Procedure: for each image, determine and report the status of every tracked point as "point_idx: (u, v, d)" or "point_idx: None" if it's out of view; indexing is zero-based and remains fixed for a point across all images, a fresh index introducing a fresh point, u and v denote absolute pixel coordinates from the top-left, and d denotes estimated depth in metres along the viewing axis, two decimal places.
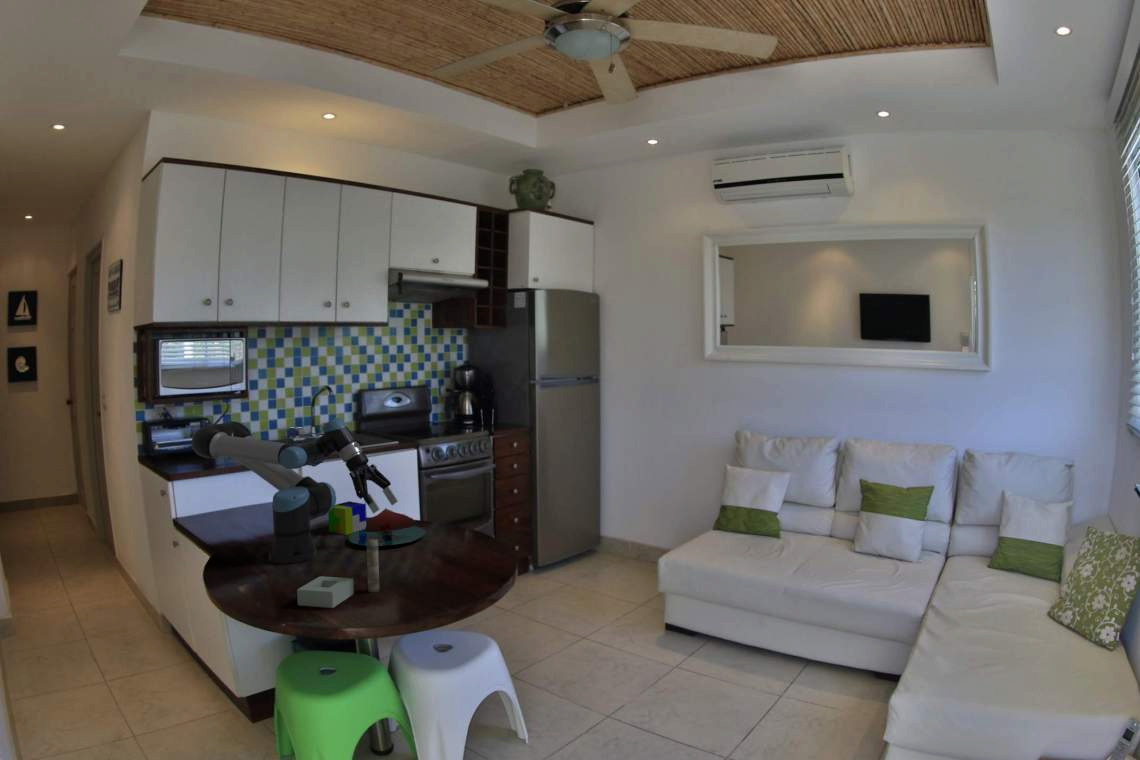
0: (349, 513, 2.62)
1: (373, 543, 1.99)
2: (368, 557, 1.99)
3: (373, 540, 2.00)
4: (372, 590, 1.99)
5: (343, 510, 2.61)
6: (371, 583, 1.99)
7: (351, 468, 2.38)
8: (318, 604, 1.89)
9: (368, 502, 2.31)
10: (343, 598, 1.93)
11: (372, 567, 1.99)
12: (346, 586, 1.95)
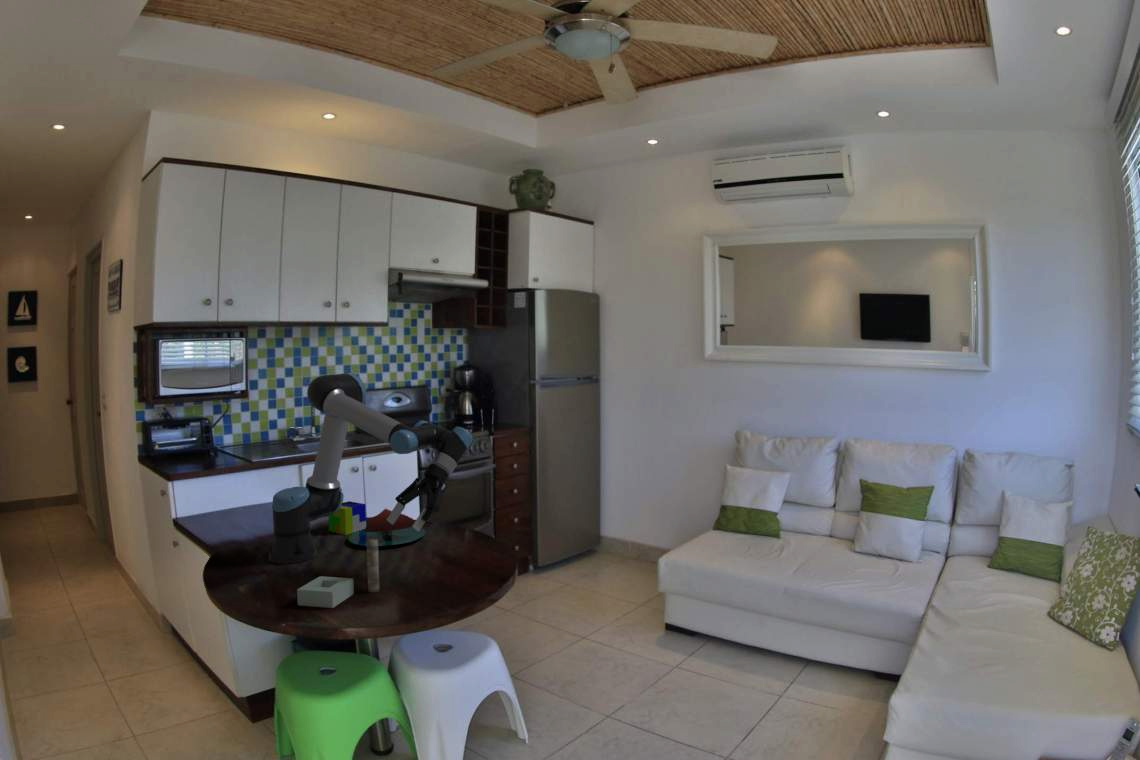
0: (349, 513, 2.62)
1: (373, 543, 1.99)
2: (368, 557, 1.99)
3: (373, 540, 2.00)
4: (372, 590, 1.99)
5: (343, 510, 2.61)
6: (371, 583, 1.99)
7: (439, 477, 2.14)
8: (318, 604, 1.89)
9: (425, 519, 2.05)
10: (343, 598, 1.93)
11: (372, 567, 1.99)
12: (346, 586, 1.95)
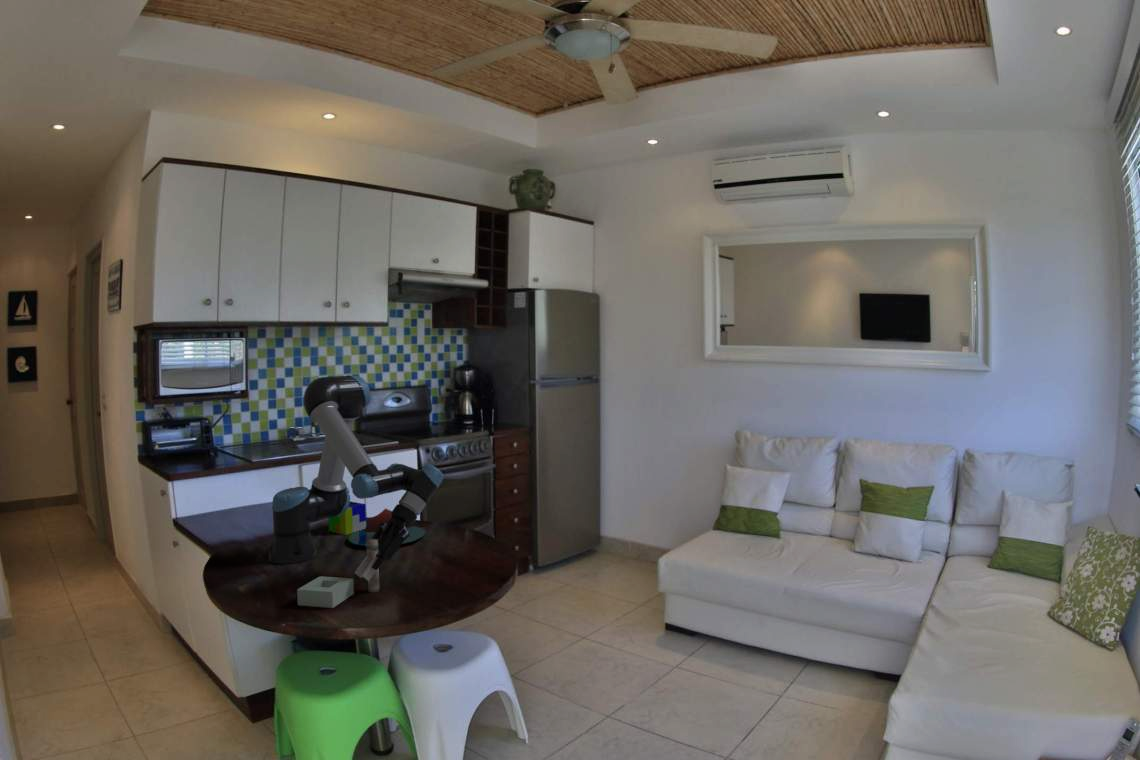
0: (349, 513, 2.62)
1: (373, 543, 1.99)
2: (368, 557, 1.99)
3: (373, 540, 2.00)
4: (372, 590, 1.99)
5: None
6: (371, 583, 1.99)
7: (406, 518, 2.05)
8: (318, 604, 1.89)
9: (376, 568, 1.97)
10: (343, 598, 1.93)
11: None
12: (346, 586, 1.95)
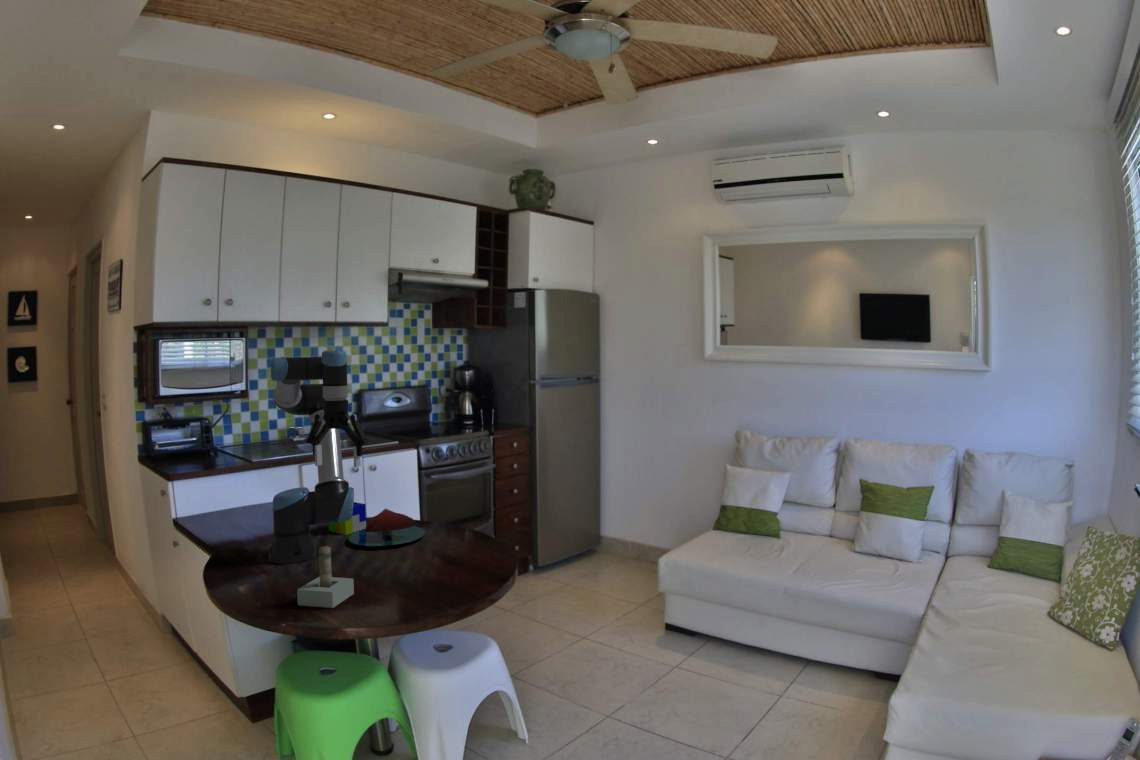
0: None
1: (323, 551, 1.92)
2: (319, 565, 1.93)
3: (326, 547, 1.94)
4: None
5: None
6: None
7: (344, 410, 2.12)
8: (318, 604, 1.89)
9: (361, 454, 2.13)
10: (343, 598, 1.93)
11: (323, 575, 1.93)
12: (346, 586, 1.95)
